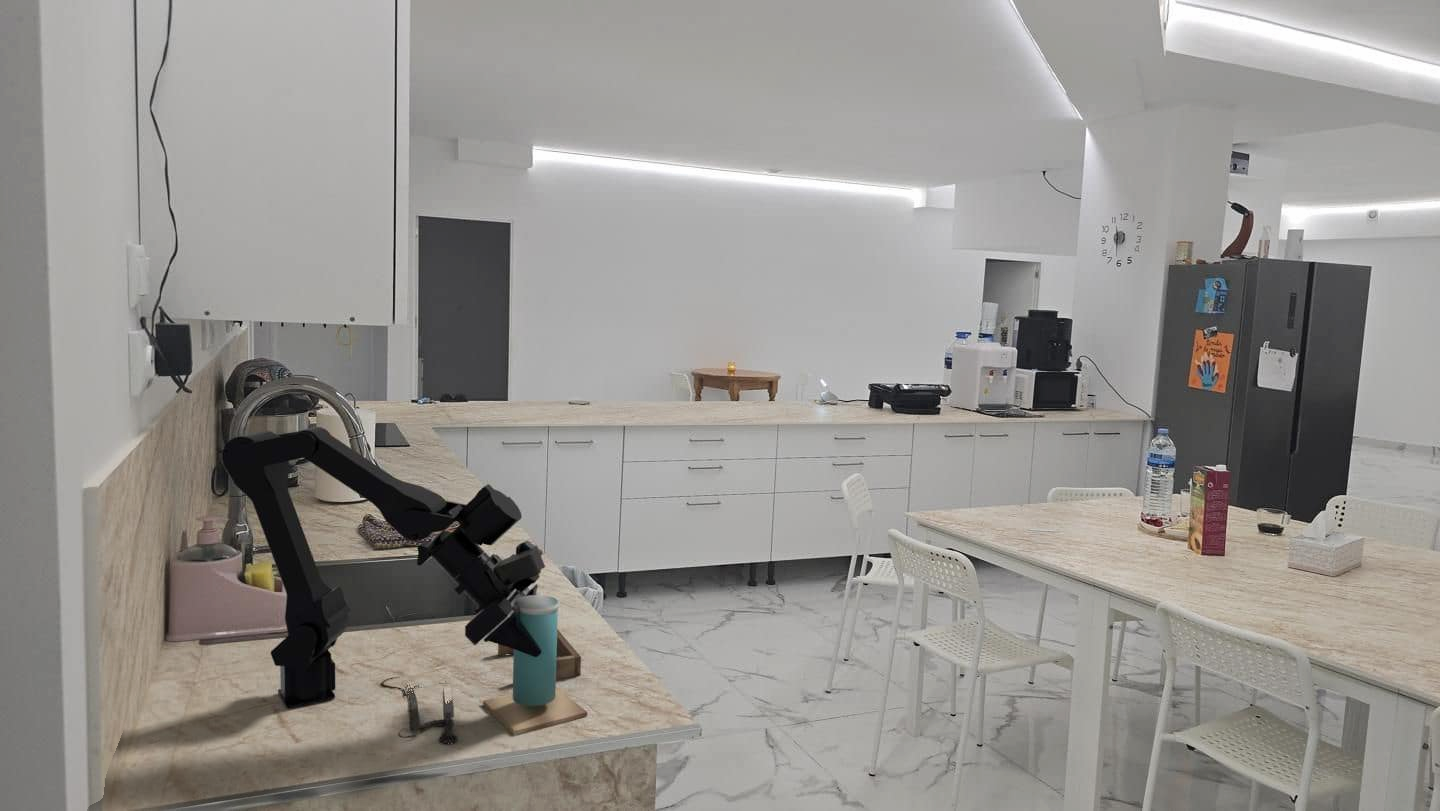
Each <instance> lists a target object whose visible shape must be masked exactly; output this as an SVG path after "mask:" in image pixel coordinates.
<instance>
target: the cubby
mask: <svg viewBox="0 0 1440 811" xmlns="http://www.w3.org/2000/svg"><path fill="white" fill-rule="evenodd" d="M498 654H499V655H498ZM506 654H512V655H514V649H512V648H509V647H506V646H503V645H500V644H497V655H498V656H499V657H501V656H500V655H505V656H507V655H506ZM557 656H558V657H556V680H559V679H565V678H569V677H570V678H571V677H577V676H581V675H582V674H581V672H582V667H581V666H582V656H581V655H580V654H579V652H577V650H576V649H575V648H574V647H573V646H572V645H571V643H570V642H569V641H568V640H567V639H566V637H565V636H564V634H562V632H561V631H560V630H559V629H558V628H557Z"/></svg>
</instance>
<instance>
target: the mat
mask: <svg viewBox="0 0 1440 811" xmlns="http://www.w3.org/2000/svg"><path fill="white" fill-rule="evenodd" d="M483 704H484V705H485V706H486V707H487V708H488V709H489V710H488V709H487V708H486V707H485V706H484V705H483ZM482 705H483V706H484V707H485V708H486V709H487V710H488V711H489V712H490V713H491V714H492V715H493V716H494V717H495V718H496V719H497V720H498V721H499V722H500V723H501V724H503V726H505V728H507V729H508V731H509V732H510V733H511V734H512V735H514V736H516V735H521V734H524V733H525V734H526V733H529V732H532V731H536V730H540V729H543V728H547V727H551V726H555V725H557V724H558V725H559V724H562V723H566V722H570V721H573V720H576V719H580V718H581V719H582V718H584V717H588V711H587V710H586V709H584V708H583V707H582V706H580V705H579V704H578V703H577V702H575V701H574V700H573V699H572V698H571V697H569V696H568V695H567V694H566V693H564V692H563V691H562V690H561V689H559V688H558V687H557V686H556V692H555V699H554V700H553V701H551V702H550V703H547V704H544V705H540V706H525V705H520V704H518V703H516V702H514V700H513V693H509V694H506V695H505V694H504V695H502V696H497V697H494V698H488V699H485V700H484V699H483V703H482Z"/></svg>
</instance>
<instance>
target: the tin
mask: <svg viewBox="0 0 1440 811" xmlns="http://www.w3.org/2000/svg"><path fill="white" fill-rule="evenodd" d="M519 606H520V621H521V623H522V624H523V625H524V627H525V628H526V630H527V631H528V632H529V634H530V635H531V636H532V638H533V639H534V640H535V642H536V643H537V645H538V646H539V648H540V649H541V651H542V653H541V654H540V655H539V656H538V657H533V656H531V655H528V654H525V653H523V652H520V651H517V650H515V649H514V654H513V658H512V660H513V662H512V664H513V668H512V694H513V700H514V702H516V703H518V704H520V705H525V706H540V705H544V704H547V703H550V702H551V701H553V700H554V699H555V692H556V687H557V686H556V684H557V682H556V681H557V679H556V658H557V656H558V655H557V629H558V620H559V619H558V616H559V614H558V612H559V606H560V605H559V599H558V598H556V597H555V596H550V595H546V594H536V595H529V596H524V597H520V598H518V599H516V600H515V601H514V610H515V609H516V608H518V607H519Z"/></svg>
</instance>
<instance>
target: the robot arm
mask: <svg viewBox="0 0 1440 811" xmlns="http://www.w3.org/2000/svg"><path fill="white" fill-rule="evenodd" d="M220 455H221V456H220V458H221V462H222V464H223V467H224V469H225V470H226V473H227V474H228V476H229V477H230V479H231V481H232V483H233V484H234V486H235V487H237V489H238V490H240V491H241V492H242V493H243V494H244V495H246V497H247V498H248V499H250V502H251V503H252V506H253V508H254V511H255V513H256V516H257V519H258V522H259V524H260V526H261V528H262V532H263V534H264V537H265V540H266V543H267V546H268V547H269V551H270V553H271V556H272V558H273V561H274V564H275V566H276V568H277V572H278V575H279V577H280V580H281V582H282V585H283V588H284V592H285V594H286V602H285V610H284V611H285V612H284V621H285V627H286V631H287V636H286V637H285V638H283V640H282V641H281V642H280V643H278V644H277V645H276V646H275V647H274V648H273V649H272V650H271V651H270V656H271V658H272V661H273V663H274V666H276V667H280V668H279V670H280V671H279V672H280V673H279V674H280V688H279V689H278V690H277V694H278V696H279V698H280V700H281V701H282V703H283V705H284V707H285V708H286V709H293V708H298V707H303V706H308V705H313V704H317V703H321V702H326V701H330V700H335V698H336V694H335V693H334V691H335V690H336V663H335V661H334V660H333V658H332V653H331V652H330V651H329V650H330V649H331V648H332V647H334V646H335V645H336V644H337V640H338V638H339V637H340V636H342V635H343V634H344V633H345V632H346V629H347V628H348V625H349V624H350V623H349V622H350V620H349V619H350V618H349V613H351V611H352V610H351V608H350V607H349V606H348V605H347V603H346V601H345V597H344V591H343V589H342V587H341V586H337V587H335V588H333V589H331V587H330V586H328V584H326V583H325V582H324V581H323V580H322V578H321V575H320V572H319V570H318V567H317V565H316V563H315V562H316V561H315V560H314V556H313V554H312V551H311V549H310V546H309V543H308V540H307V537H306V535H305V533H304V530H303V526H302V525H301V522H300V519H299V515H298V512H297V510H296V508H295V505H294V502H293V500H292V497H291V494H290V491H289V487H288V486H289V485H288V484H289V476H290V475H289V474H290V463H289V462H291V461H296V460H300V459H305V460H307V461H308V462H309V463H311V464H313V465H314V466H316V467H317V468H318V469H320V470H321V471H322V472H325V473H326V474H328V475H330V476H331V477H332V478H334V479H335V480H337V481H338V482H340V483H341V484H343V485H344V486H346V487H347V488H348V489H351V491H353V492H354V493H356V494H358V495H360V496H361V497H362V498H364V499H365V500H367V501H369V503H371V504H372V505H373V506H375V507H376V508H377V509H378V511H379V512H380V514H381V515H382V518H383V519H384V521H385V522H386V523H387V524H388V525H389V526H390V527H391V528H393V529H394V530H395V532H396V533H398V534H399V535H400V536H401V537H403V539H406V540H408V541H412V542H416V541H421V540H424V539H426V538H428V537H430V536H432V534H434V533H436V532H438V535H436V536H435V537H434V538H433V539H432V540H431V541H430V542H425V541H424V542H422V543H421V544H419V545H418V546H417V547H416V548H417V559H416V565H417V566H419V567H420V566H422V565H424V564H425V563H427V561H429V560H430V559H431V558H432V560H434V561H435V562H436V563H437V564H438V566H439V567H440V568H441V569H442V570H443V571H444V572H445V573H446V574H447V575H448V576H449V577H450V578H451V579H452V580H453V581H454V583H455V584H456V585H457V587H456V588H454V591H455V592H456V593H457V594H458V595H459V596H460V595H461V593H463V592H464V594H465V595H466V596H467V597H469V599H470V600H471V601H473V603H474V604H475V605H476V606H477V608H476V609H475V610H474V612H475V613H476V614H475V616H473V617H472V618H471V619H470V620H469V621H468V622H467V624H466V625H465V626H464V637H466V638H467V639H468V641H470V643H471V644H473V646H476V645H478V644H479V643H480V642H481V640H483V642H485V643H488V642H490V643H493V644H496V645H498V644H500V645H503V646H506V647H509V648H512V649H515V650H517V651H520V652H523V653H525V654H528V655H531V656H533V657H538V656H539V655H540V654H541V653H542V651H541V649H540V648H539V646H538V645H537V643H536V642H535V640H534V639H533V638H532V636H531V635H530V634H529V632H528V631H527V630H526V628H525V627H524V625H523V624H522V623H521V621H520V606H519V607H518V608H516V609H515V610H514V601H515V600H516V599H518V598H520V597H524V596H529V595H537V593H538V592H537V591H538V587H539V586H538V583H536V582H537V580H539V578H540V577H541V575H540V574H541V572H542V569H545V568H546V565H545V562H544V560H543V558H542V555H543V553H544V552H543V550H542V549H541V548H540V549H539V546H538V545H534V544H533V543H531V541H529V540H526V541H523V542H520V543H518V545H517V546H516V548H515V554H511V555H510V556H509V557H507V558H504V559H502V558H501V557H500V556H499V555H498V554H495V553H493V554H491V555H490V556H489V554H487V553H486V552H485V550H484V549H483V548H482V547H481V546H482V545H486V546H492V545H494V544H495V543H496V542H497V541H499V540H500V539H501V538H502V537H503V536H504V535H505V534H506V533H507V532H509V530H511V529H512V528H513V527H514V526H515V525H516V524H517V523H518V522H519V521H520V520H521V519H522V512H521V510H520V509H519V506H518V505H517V504H516V503H515V501H514V500H513V499H512V498H511V497H510V496H507V495H506V494H504V493H503V492H501V491H500V490H498V489H494V488H493V487H492V486H491V485H490V484H486V485H484V486H483V487H482V488H481V489H480V490H478V492H477V493H476V495H475V496H474V497H473V498H472V499H471V500H470V501H469V502H468V503H467V504H464V503H460V502H455V501H454V502H453V501H448V500H445V498H444V497H443V496H442V495H440V494H438V493H436V492H434V491H432V490H429V489H427V488H425V487H423V486H421V485H419V484H414V483H410V482H406V481H403V480H400V479H398V478H397V477H395V476H393V475H392V474H390V473H389V472H387V471H386V470H385V469H382V468H381V467H380V466H378V465H377V464H375V463H374V462H372V461H370V460H369V459H368V458H366V457H365V456H363V455H362V454H360V453H358V452H357V451H355V449H353V448H351V447H349V446H348V445H346V444H345V443H343V442H342V441H341V440H339V439H338V438H336V437H334V436H333V435H331V432H329V431H328V430H327V429H325V428H323V427H321V426H314V427H309V428H307V429H302V430H298V431H291V432H288V433H287V432H285V433H280V434H276V433H274V432H273V431H270V430H259V431H256V432H250V433H246V434H244V435H239V436H236V437H233V438H231V439H230V440H228V442H227V443H226V444H225V445H224V448H223V450H222V451H221V454H220ZM456 523H458V524H459V525H458V526H457V527H456V528H455V529H454V530H452V531H449V530H447V529H448V528H450V527H451V526H453V525H455V524H456ZM439 532H440V533H439ZM535 583H536V584H535ZM533 584H535V585H534V586H533V587H532V588H531V589H530V588H529V587H530V586H531V585H533Z"/></svg>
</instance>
